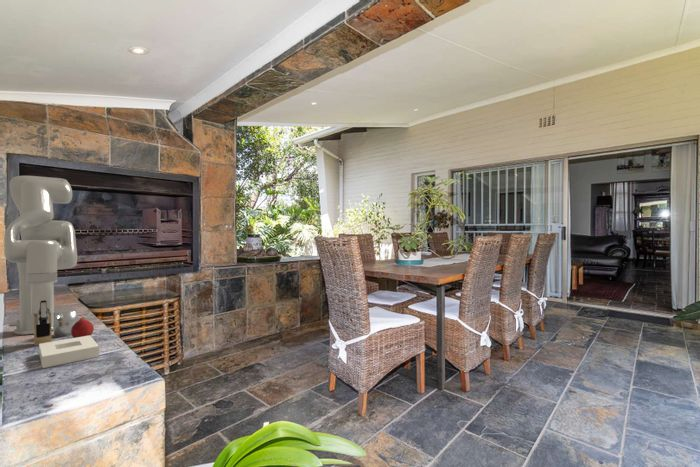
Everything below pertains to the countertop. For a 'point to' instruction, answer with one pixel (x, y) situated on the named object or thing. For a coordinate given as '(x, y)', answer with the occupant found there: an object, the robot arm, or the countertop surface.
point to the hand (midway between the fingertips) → (42, 334)
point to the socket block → (67, 351)
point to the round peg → (64, 322)
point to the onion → (82, 328)
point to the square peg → (41, 339)
